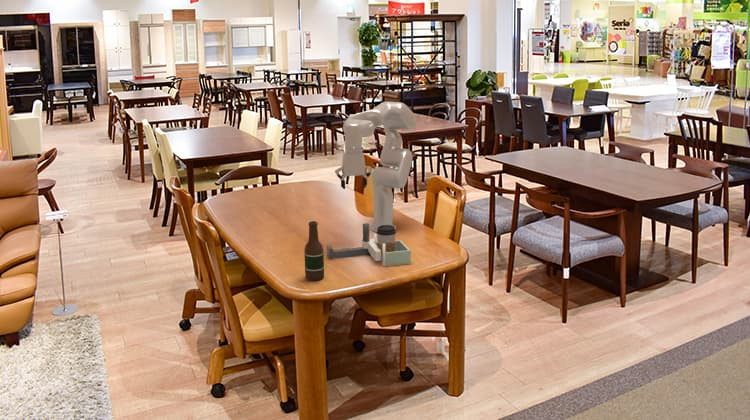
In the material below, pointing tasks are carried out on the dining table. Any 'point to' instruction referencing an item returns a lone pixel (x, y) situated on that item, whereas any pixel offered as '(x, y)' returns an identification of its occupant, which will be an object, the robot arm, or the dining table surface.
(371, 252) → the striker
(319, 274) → the beer bottle
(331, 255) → the rail
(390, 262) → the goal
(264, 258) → the dining table surface
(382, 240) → the coffee cup
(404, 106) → the robot arm
